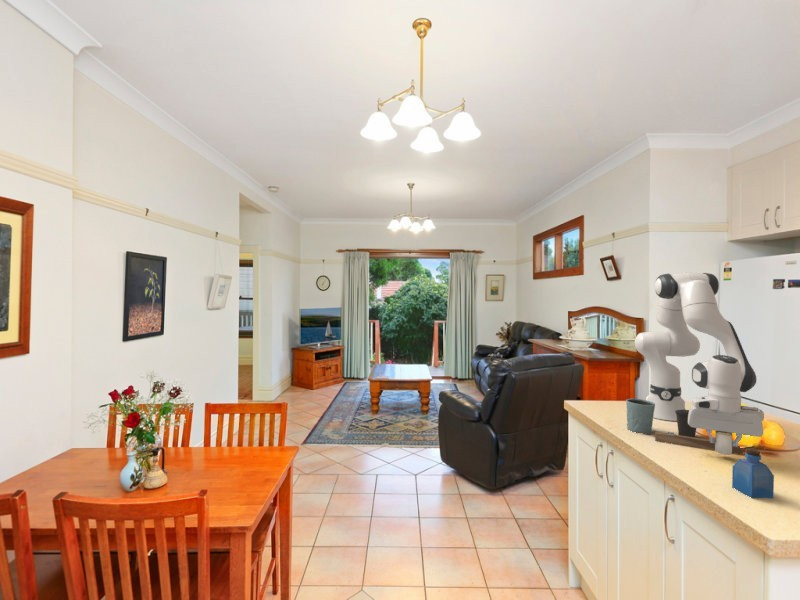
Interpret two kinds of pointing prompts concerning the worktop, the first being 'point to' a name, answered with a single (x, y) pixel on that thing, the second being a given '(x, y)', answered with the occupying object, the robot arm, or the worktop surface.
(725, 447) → the round canister
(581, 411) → the worktop surface
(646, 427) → the grey-green plant pot
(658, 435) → the walnut fence
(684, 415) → the coffee cup
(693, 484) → the worktop surface
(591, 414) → the worktop surface
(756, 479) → the perfume bottle
